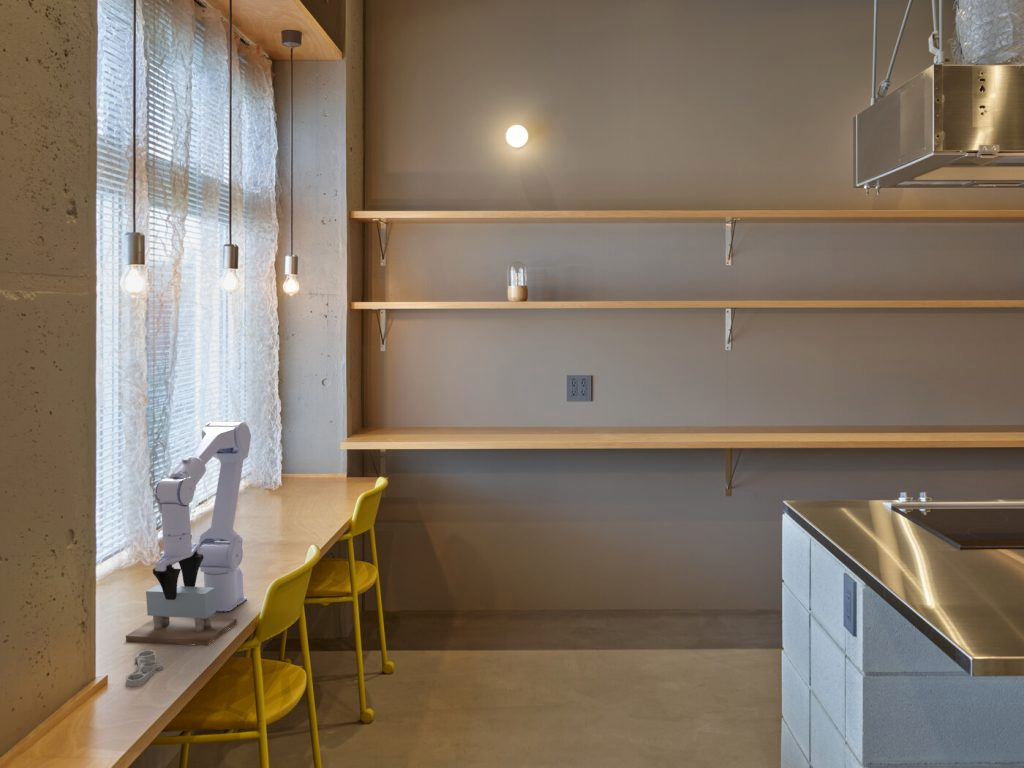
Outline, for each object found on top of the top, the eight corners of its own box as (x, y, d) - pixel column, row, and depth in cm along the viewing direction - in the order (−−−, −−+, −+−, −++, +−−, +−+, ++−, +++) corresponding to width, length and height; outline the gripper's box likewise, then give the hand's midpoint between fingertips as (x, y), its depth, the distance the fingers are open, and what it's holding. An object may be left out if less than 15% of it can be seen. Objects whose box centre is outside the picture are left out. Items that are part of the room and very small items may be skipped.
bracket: (104, 680, 173) (142, 648, 188) (105, 689, 173) (142, 657, 188) (143, 680, 173) (177, 648, 188) (143, 690, 173) (178, 657, 188)
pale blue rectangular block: (215, 611, 201) (214, 587, 201) (206, 618, 197) (204, 593, 197) (158, 608, 204) (156, 585, 203) (147, 615, 200) (145, 591, 199)
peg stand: (160, 619, 209) (159, 601, 209) (236, 623, 205) (235, 605, 205) (126, 641, 196) (124, 622, 196) (206, 645, 193) (205, 626, 192)
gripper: (178, 523, 207) (181, 582, 208) (140, 541, 192) (144, 603, 194) (206, 524, 205) (210, 583, 207) (171, 542, 191) (174, 605, 192)
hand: (180, 593), depth 200 cm, fingers open, 7 cm apart
